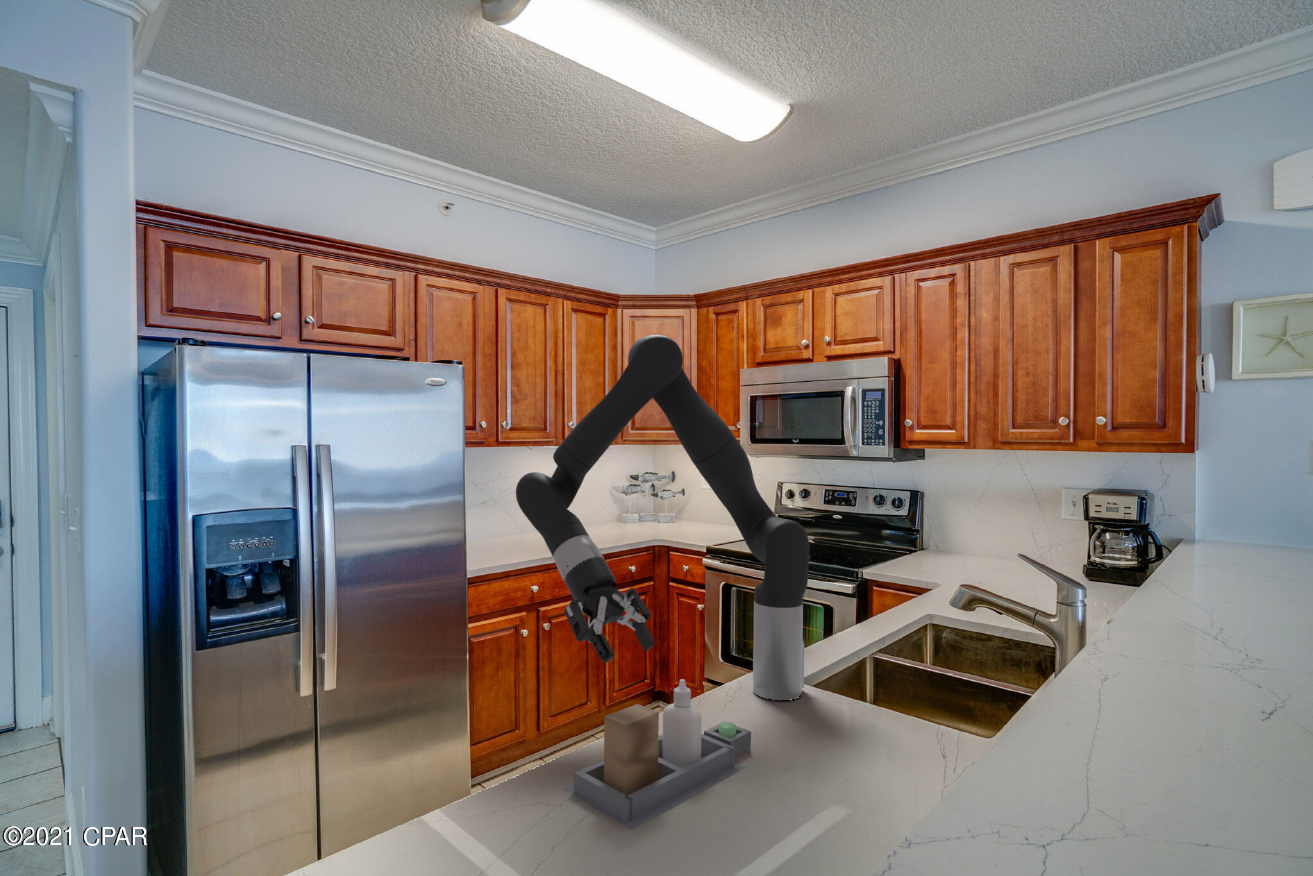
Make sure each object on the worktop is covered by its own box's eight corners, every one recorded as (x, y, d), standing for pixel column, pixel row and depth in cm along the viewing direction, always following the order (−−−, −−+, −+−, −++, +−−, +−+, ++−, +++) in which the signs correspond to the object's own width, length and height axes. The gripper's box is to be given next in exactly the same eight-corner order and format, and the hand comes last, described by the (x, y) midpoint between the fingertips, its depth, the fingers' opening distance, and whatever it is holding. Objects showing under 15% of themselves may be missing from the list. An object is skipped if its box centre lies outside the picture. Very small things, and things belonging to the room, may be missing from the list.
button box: (724, 747, 103) (724, 721, 103) (750, 758, 100) (750, 731, 100) (703, 757, 100) (704, 731, 100) (730, 769, 96) (730, 741, 96)
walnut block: (636, 777, 91) (637, 703, 91) (657, 788, 88) (658, 712, 88) (603, 793, 86) (604, 716, 86) (624, 805, 83) (625, 725, 84)
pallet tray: (676, 748, 103) (677, 722, 103) (744, 778, 94) (745, 749, 94) (563, 800, 87) (563, 769, 87) (631, 842, 78) (632, 808, 78)
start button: (725, 739, 102) (726, 720, 102) (739, 744, 100) (739, 726, 100) (715, 744, 100) (715, 725, 100) (728, 750, 98) (729, 731, 98)
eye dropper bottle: (686, 753, 98) (687, 671, 98) (704, 771, 93) (705, 684, 93) (659, 759, 96) (660, 675, 96) (676, 776, 91) (677, 688, 91)
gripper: (559, 560, 104) (607, 650, 96) (626, 550, 114) (674, 630, 106) (539, 589, 108) (583, 677, 100) (605, 577, 118) (650, 656, 110)
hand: (630, 653), depth 103 cm, fingers open, 8 cm apart
